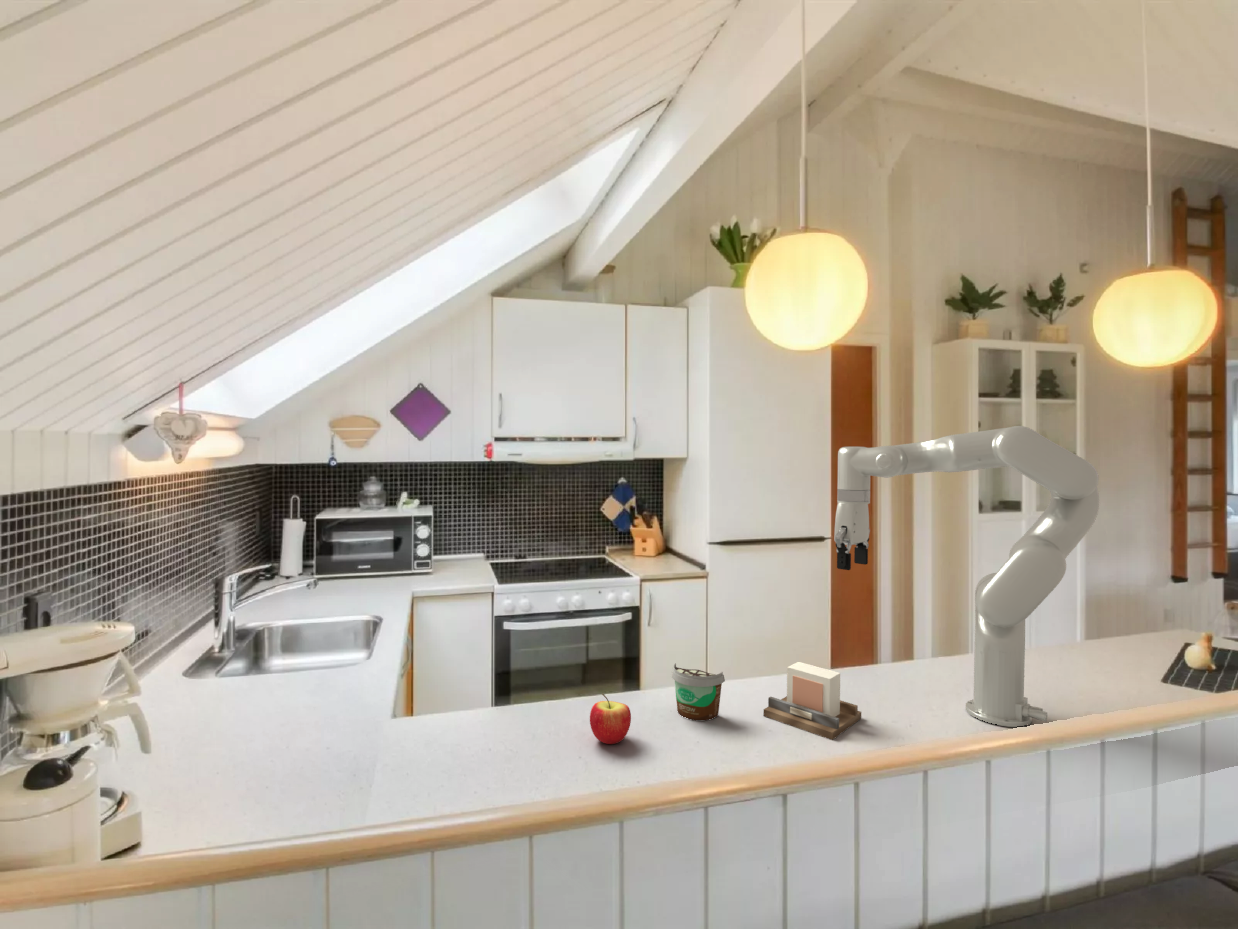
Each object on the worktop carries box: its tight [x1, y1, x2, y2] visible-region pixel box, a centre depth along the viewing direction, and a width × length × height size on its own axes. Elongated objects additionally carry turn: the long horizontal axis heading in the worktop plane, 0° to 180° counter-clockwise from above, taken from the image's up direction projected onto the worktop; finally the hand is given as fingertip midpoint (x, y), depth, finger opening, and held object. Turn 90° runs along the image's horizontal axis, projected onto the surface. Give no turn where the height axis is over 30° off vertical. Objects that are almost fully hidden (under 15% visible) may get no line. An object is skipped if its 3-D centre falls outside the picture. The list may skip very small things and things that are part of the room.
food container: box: [670, 663, 726, 721], centre depth 138 cm, size 12×6×10 cm, turn 62°
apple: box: [589, 692, 632, 745], centre depth 126 cm, size 8×8×10 cm
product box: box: [786, 661, 841, 717], centre depth 137 cm, size 5×10×9 cm, turn 45°
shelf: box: [763, 695, 862, 741], centre depth 137 cm, size 16×14×4 cm
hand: (852, 566), depth 153 cm, fingers open, 9 cm apart
